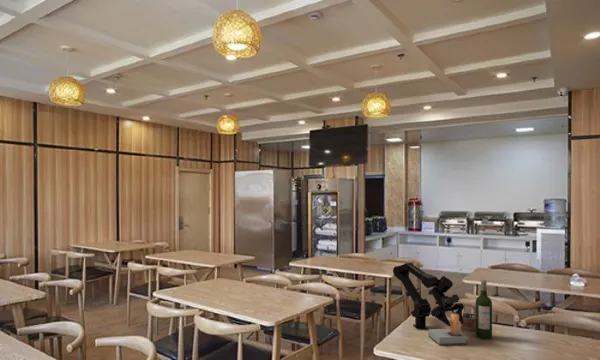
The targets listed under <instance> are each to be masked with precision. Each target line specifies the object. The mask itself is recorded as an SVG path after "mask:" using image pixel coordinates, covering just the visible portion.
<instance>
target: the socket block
mask: <svg viewBox="0 0 600 360" xmlns="http://www.w3.org/2000/svg"><path fill="white" fill-rule="evenodd" d="M428 338H429V339H431V340H432V341H433V342H434V343H436V344H437V345H438V346H464V345H465V346H466V345H467V336H466V335H465V334H463V333H461V332H460V331H459V336H451V335H450V328H434V329H433V328H432V329H429V328H428Z"/></svg>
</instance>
